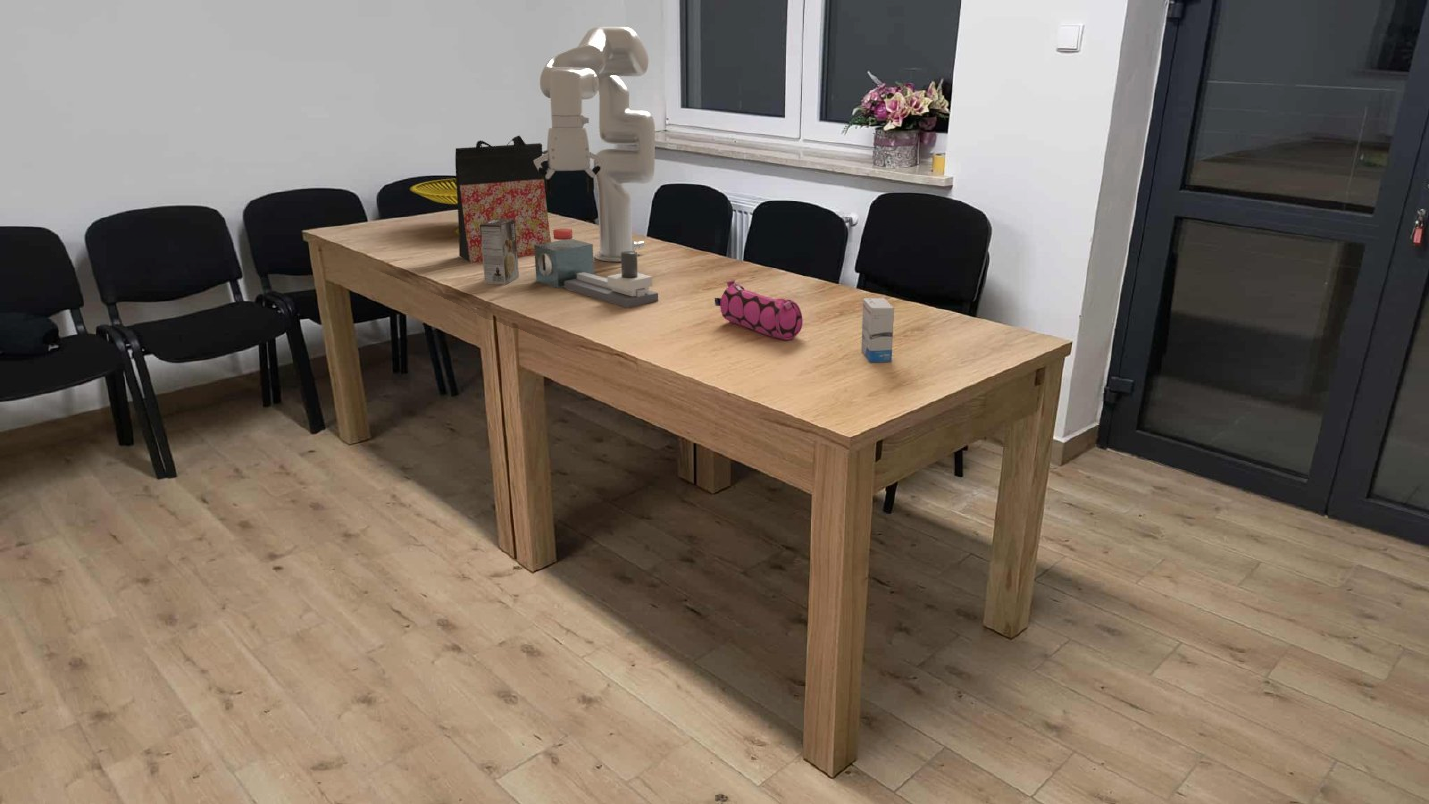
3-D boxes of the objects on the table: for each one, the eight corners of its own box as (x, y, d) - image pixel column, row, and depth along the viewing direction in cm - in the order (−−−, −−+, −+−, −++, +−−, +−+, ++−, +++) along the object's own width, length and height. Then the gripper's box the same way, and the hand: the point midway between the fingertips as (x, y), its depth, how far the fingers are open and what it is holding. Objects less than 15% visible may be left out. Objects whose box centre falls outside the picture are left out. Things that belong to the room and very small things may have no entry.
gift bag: (473, 264, 284) (462, 140, 271) (457, 255, 295) (446, 135, 282) (567, 253, 298) (561, 135, 286) (548, 244, 310) (542, 130, 297)
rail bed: (594, 282, 266) (594, 269, 264) (658, 300, 248) (657, 287, 247) (564, 288, 259) (563, 275, 258) (627, 307, 242) (627, 294, 240)
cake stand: (497, 215, 356) (494, 173, 350) (561, 232, 328) (558, 186, 323) (392, 229, 330) (387, 184, 325) (451, 249, 303) (447, 200, 297)
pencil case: (712, 324, 230) (713, 282, 226) (743, 316, 236) (743, 276, 232) (777, 345, 215) (778, 301, 211) (808, 337, 221) (809, 294, 217)
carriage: (632, 285, 253) (631, 247, 249) (652, 291, 247) (651, 253, 244) (607, 291, 248) (606, 252, 244) (628, 297, 242) (626, 257, 239)
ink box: (892, 362, 204) (896, 308, 200) (868, 363, 204) (871, 308, 199) (882, 349, 212) (885, 297, 208) (859, 350, 212) (862, 297, 207)
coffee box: (497, 275, 272) (493, 217, 266) (519, 276, 271) (515, 218, 265) (484, 283, 263) (479, 224, 258) (506, 285, 262) (502, 225, 256)
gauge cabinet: (572, 274, 274) (570, 238, 270) (594, 280, 267) (592, 244, 264) (533, 281, 265) (531, 245, 262) (555, 288, 259) (553, 251, 255)
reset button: (565, 235, 266) (564, 227, 265) (576, 237, 262) (575, 230, 262) (549, 237, 262) (549, 230, 262) (561, 240, 259) (560, 233, 258)
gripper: (599, 120, 244) (602, 190, 250) (529, 122, 239) (533, 192, 245) (605, 123, 237) (607, 194, 243) (533, 124, 233) (537, 197, 239)
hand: (570, 193), depth 244 cm, fingers open, 9 cm apart
